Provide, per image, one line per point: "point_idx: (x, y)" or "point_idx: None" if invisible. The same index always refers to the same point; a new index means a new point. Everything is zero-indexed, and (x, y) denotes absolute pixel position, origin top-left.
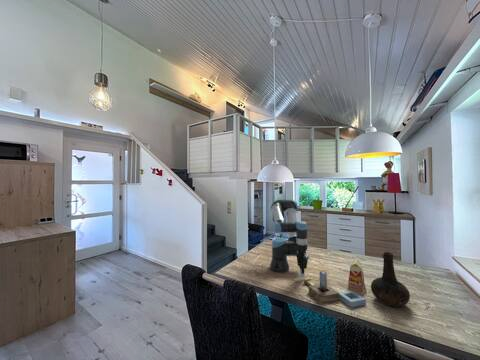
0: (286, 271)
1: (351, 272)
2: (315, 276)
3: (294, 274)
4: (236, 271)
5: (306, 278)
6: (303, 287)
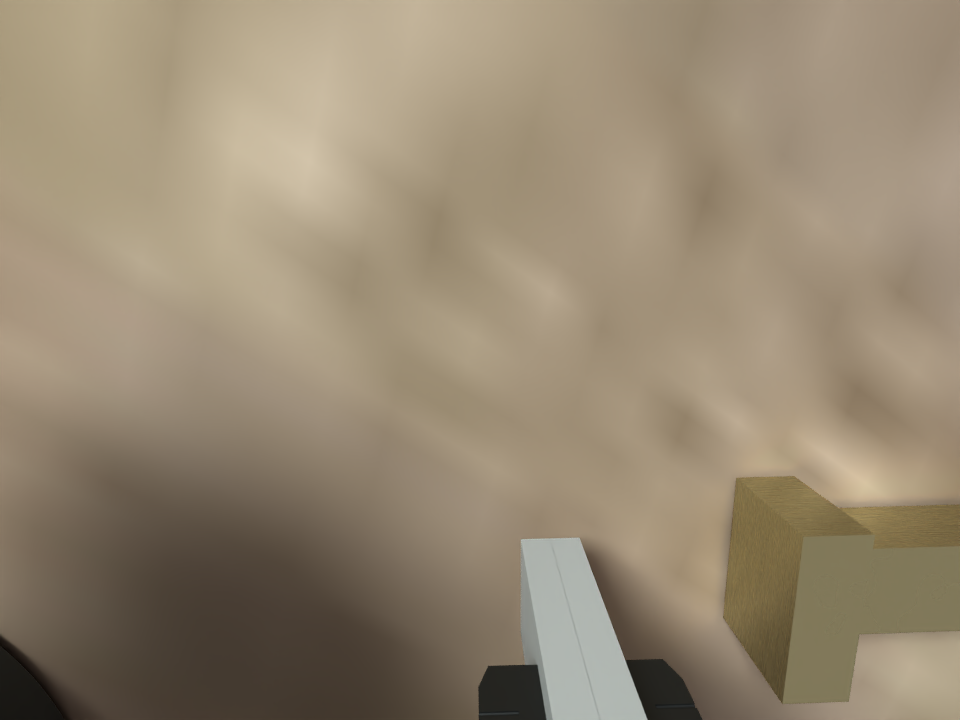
0: (57, 717)
1: None
2: (488, 98)
3: (241, 592)
4: None
5: (812, 638)
6: (864, 701)
